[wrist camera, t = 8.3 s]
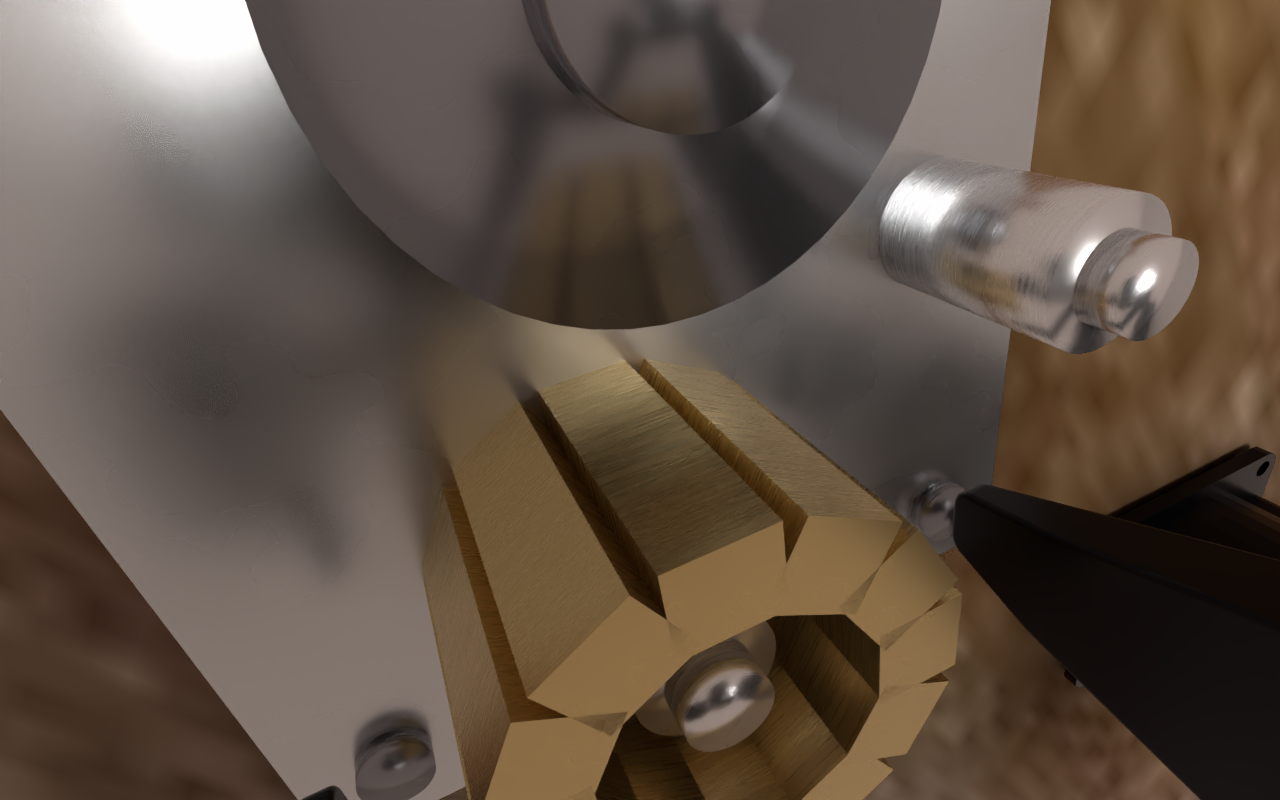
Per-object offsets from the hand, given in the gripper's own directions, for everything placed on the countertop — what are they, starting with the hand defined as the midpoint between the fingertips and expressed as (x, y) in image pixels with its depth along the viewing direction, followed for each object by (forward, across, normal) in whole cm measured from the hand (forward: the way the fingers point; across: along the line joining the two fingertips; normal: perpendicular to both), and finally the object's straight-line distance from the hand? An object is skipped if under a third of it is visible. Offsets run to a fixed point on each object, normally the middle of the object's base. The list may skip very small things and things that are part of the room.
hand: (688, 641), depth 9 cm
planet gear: (+2, 0, 0) cm, 2 cm away
